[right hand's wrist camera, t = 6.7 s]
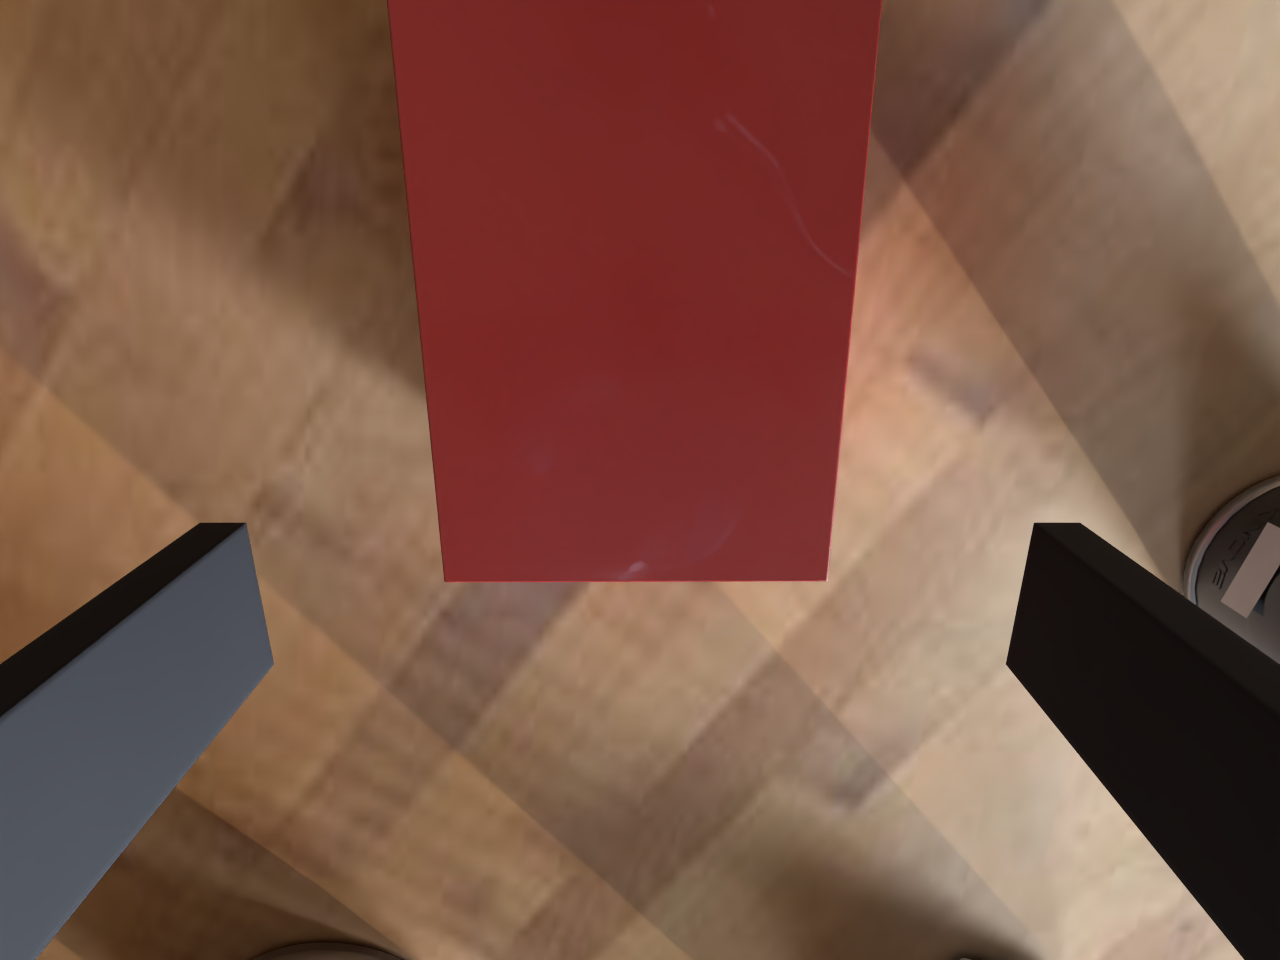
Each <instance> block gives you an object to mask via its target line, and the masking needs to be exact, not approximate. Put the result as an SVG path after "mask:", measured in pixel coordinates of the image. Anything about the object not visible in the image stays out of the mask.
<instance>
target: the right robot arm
mask: <svg viewBox="0 0 1280 960" xmlns="http://www.w3.org/2000/svg"><path fill="white" fill-rule="evenodd" d="M273 665H274V662H273V656H272V651H271V646H270V641H269V636H268V631H267V626H266V621H265V616H264V611H263V606H262V601H261V596H260V591H259V586H258V581H257V576H256V571H255V566H254V561H253V556H252V551H251V546H250V541H249V536H248V531H247V526H246V523H199V524H198V525H196V526H195V527H193V528H192V529H191V530H189V531H188V532H186V533H185V534H183V535H182V536H181V537H179V538H178V539H176V540H175V541H174V542H172V543H171V544H169V545H168V546H167V547H165V548H164V549H162V550H161V551H160V552H158V553H157V554H155V555H154V556H152V557H151V558H150V559H148V560H147V561H145V562H144V563H143V564H141V565H140V566H138V567H137V568H136V569H134V570H133V571H131V572H130V573H128V574H127V575H126V576H124V577H123V578H121V579H120V580H119V581H117V582H116V583H114V584H113V585H112V586H110V587H109V588H107V589H106V590H104V591H103V592H102V593H100V594H99V595H97V596H96V597H95V598H93V599H92V600H90V601H89V602H88V603H86V604H85V605H83V606H82V607H81V608H79V609H78V610H76V611H75V612H73V613H72V614H71V615H69V616H68V617H66V618H65V619H64V620H62V621H61V622H59V623H58V624H57V625H55V626H54V627H52V628H51V629H49V630H48V631H47V632H45V633H44V634H42V635H41V636H40V637H38V638H37V639H35V640H34V641H33V642H31V643H30V644H28V645H27V646H25V647H24V648H23V649H21V650H20V651H18V652H17V653H16V654H14V655H13V656H11V657H10V658H9V659H7V660H6V661H4V662H3V663H2V664H0V960H36V958H37V957H38V956H39V955H40V954H41V952H42V951H43V950H44V949H45V947H46V946H47V945H48V944H49V942H50V941H51V940H52V939H53V937H54V936H55V935H56V934H57V932H58V931H59V930H60V929H61V928H62V926H63V925H64V924H65V923H66V921H67V920H68V919H69V918H70V916H71V915H72V914H73V913H74V911H75V910H76V909H77V908H78V906H79V905H80V904H81V903H82V901H83V900H84V899H85V898H86V897H87V895H88V894H89V893H90V892H91V890H92V889H93V888H94V887H95V885H96V884H97V883H98V882H99V880H100V879H101V878H102V877H103V875H104V874H105V873H106V872H107V871H108V869H109V868H110V867H111V866H112V864H113V863H114V862H115V861H116V859H117V858H118V857H119V856H120V854H121V853H122V852H123V851H124V849H125V848H126V847H127V846H128V845H129V843H130V842H131V841H132V840H133V838H134V837H135V836H136V835H137V833H138V832H139V831H140V830H141V828H142V827H143V826H144V825H145V823H146V822H147V821H148V820H149V818H150V817H151V816H152V815H153V814H154V812H155V811H156V810H157V809H158V807H159V806H160V805H161V804H162V802H163V801H164V800H165V799H166V797H167V796H168V795H169V794H170V792H171V791H172V790H173V789H174V788H175V786H176V785H177V784H178V783H179V781H180V780H181V779H182V778H183V776H184V775H185V774H186V773H187V771H188V770H189V769H190V768H191V766H192V765H193V764H194V763H195V762H196V760H197V759H198V758H199V757H200V755H201V754H202V753H203V752H204V750H205V749H206V748H207V747H208V745H209V744H210V743H211V742H212V740H213V739H214V738H215V737H216V735H217V734H218V733H219V732H220V731H221V729H222V728H223V727H224V726H225V724H226V723H227V722H228V721H229V719H230V718H231V717H232V716H233V714H234V713H235V712H236V711H237V709H238V708H239V707H240V706H241V705H242V703H243V702H244V701H245V700H246V698H247V697H248V696H249V695H250V693H251V692H252V691H253V690H254V688H255V687H256V686H257V685H258V683H259V682H260V681H261V680H262V679H263V677H264V676H265V675H266V674H267V672H268V671H269V670H270V669H271V667H272V666H273ZM1006 665H1007V666H1008V667H1009V669H1010V670H1011V671H1012V672H1013V674H1014V675H1015V676H1016V677H1017V679H1018V680H1019V681H1020V682H1021V683H1022V685H1023V686H1024V687H1025V688H1026V690H1027V691H1028V692H1029V693H1030V695H1031V696H1032V697H1033V698H1034V700H1035V701H1036V702H1037V703H1038V705H1039V706H1040V707H1041V708H1042V709H1043V711H1044V712H1045V713H1046V714H1047V716H1048V717H1049V718H1050V719H1051V721H1052V722H1053V723H1054V724H1055V726H1056V727H1057V728H1058V729H1059V731H1060V732H1061V733H1062V734H1063V735H1064V737H1065V738H1066V739H1067V740H1068V742H1069V743H1070V744H1071V745H1072V747H1073V748H1074V749H1075V750H1076V752H1077V753H1078V754H1079V755H1080V757H1081V758H1082V759H1083V760H1084V762H1085V763H1086V764H1087V765H1088V766H1089V768H1090V769H1091V770H1092V771H1093V773H1094V774H1095V775H1096V776H1097V778H1098V779H1099V780H1100V781H1101V783H1102V784H1103V785H1104V786H1105V788H1106V789H1107V790H1108V791H1109V792H1110V794H1111V795H1112V796H1113V797H1114V799H1115V800H1116V801H1117V802H1118V804H1119V805H1120V806H1121V807H1122V809H1123V810H1124V811H1125V812H1126V814H1127V815H1128V816H1129V817H1130V818H1131V820H1132V821H1133V822H1134V823H1135V825H1136V826H1137V827H1138V828H1139V830H1140V831H1141V832H1142V833H1143V835H1144V836H1145V837H1146V838H1147V840H1148V841H1149V842H1150V843H1151V845H1152V846H1153V847H1154V848H1155V849H1156V851H1157V852H1158V853H1159V854H1160V856H1161V857H1162V858H1163V859H1164V861H1165V862H1166V863H1167V864H1168V866H1169V867H1170V868H1171V869H1172V871H1173V872H1174V873H1175V874H1176V875H1177V877H1178V878H1179V879H1180V880H1181V882H1182V883H1183V884H1184V885H1185V887H1186V888H1187V889H1188V890H1189V892H1190V893H1191V894H1192V895H1193V897H1194V898H1195V899H1196V900H1197V901H1198V903H1199V904H1200V905H1201V906H1202V908H1203V909H1204V910H1205V911H1206V913H1207V914H1208V915H1209V916H1210V918H1211V919H1212V920H1213V921H1214V923H1215V924H1216V925H1217V926H1218V928H1219V929H1220V930H1221V931H1222V932H1223V934H1224V935H1225V936H1226V937H1227V939H1228V940H1229V941H1230V942H1231V944H1232V945H1233V946H1234V947H1235V949H1236V950H1237V951H1238V952H1239V954H1240V955H1241V956H1242V957H1243V958H1244V960H1280V664H1278V663H1277V662H1276V661H1274V660H1273V659H1271V658H1270V657H1269V656H1267V655H1266V654H1264V653H1263V652H1262V651H1260V650H1259V649H1257V648H1256V647H1255V646H1253V645H1252V644H1250V643H1249V642H1247V641H1246V640H1245V639H1243V638H1242V637H1240V636H1239V635H1238V634H1236V633H1235V632H1233V631H1232V630H1231V629H1229V628H1228V627H1226V626H1225V625H1223V624H1222V623H1221V622H1219V621H1218V620H1216V619H1215V618H1214V617H1212V616H1211V615H1209V614H1208V613H1207V612H1205V611H1204V610H1202V609H1201V608H1199V607H1198V606H1197V605H1195V604H1194V603H1192V602H1191V601H1190V600H1188V599H1187V598H1185V597H1184V596H1183V595H1181V594H1180V593H1178V592H1177V591H1176V590H1174V589H1173V588H1171V587H1170V586H1168V585H1167V584H1166V583H1164V582H1163V581H1161V580H1160V579H1159V578H1157V577H1156V576H1154V575H1153V574H1152V573H1150V572H1149V571H1147V570H1146V569H1144V568H1143V567H1142V566H1140V565H1139V564H1137V563H1136V562H1135V561H1133V560H1132V559H1130V558H1129V557H1128V556H1126V555H1125V554H1123V553H1122V552H1121V551H1119V550H1118V549H1116V548H1115V547H1113V546H1112V545H1111V544H1109V543H1108V542H1106V541H1105V540H1104V539H1102V538H1101V537H1099V536H1098V535H1097V534H1095V533H1094V532H1092V531H1091V530H1089V529H1088V528H1087V527H1085V526H1084V525H1082V524H1081V523H1034V526H1033V531H1032V536H1031V541H1030V546H1029V551H1028V556H1027V561H1026V566H1025V571H1024V576H1023V581H1022V586H1021V591H1020V596H1019V601H1018V606H1017V611H1016V616H1015V621H1014V626H1013V631H1012V636H1011V641H1010V646H1009V651H1008V656H1007V662H1006ZM253 960H402V959H399V958H397V957H395V956H392V955H390V954H387V953H384V952H381V951H378V950H375V949H371V948H367V947H362V946H358V945H351V944H344V943H305V944H298V945H292V946H287V947H283V948H279V949H276V950H273V951H270V952H268V953H265V954H263V955H260V956H258V957H256V958H255V959H253Z"/></svg>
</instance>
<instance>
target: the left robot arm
mask: <svg viewBox="0 0 1280 960" xmlns="http://www.w3.org/2000/svg"><path fill="white" fill-rule="evenodd" d="M1183 591H1184V597H1185V598H1187V599H1188V600H1190V601H1191V602H1192V603H1194V604H1195V605H1197V606H1198V607H1199V608H1201V609H1202V610H1204V611H1205V612H1207V613H1208V614H1209V615H1211V616H1212V617H1214V618H1215V619H1216V620H1218V621H1219V622H1221V623H1222V624H1223V625H1225V626H1226V627H1228V628H1229V629H1231V630H1232V631H1233V632H1235V633H1236V634H1238V635H1239V636H1240V637H1242V638H1243V639H1245V640H1246V641H1247V642H1249V643H1250V644H1252V645H1253V646H1255V647H1256V648H1257V649H1259V650H1260V651H1262V652H1263V653H1264V654H1266V655H1267V656H1269V657H1270V658H1271V659H1273V660H1274V661H1276V662H1277V663H1278V664H1280V475H1278V476H1275V477H1272V478H1269V479H1267V480H1264V481H1262V482H1260V483H1258V484H1256V485H1254V486H1252V487H1250V488H1249V489H1247V490H1245V491H1244V492H1242V493H1241V494H1239V495H1237V496H1236V497H1235V498H1233V499H1232V500H1231V501H1230V502H1228V503H1227V504H1226V505H1225V506H1224V507H1223V508H1221V509H1220V510H1219V511H1218V512H1217V513H1216V514H1215V515H1214V516H1213V517H1212V519H1211V520H1210V521H1209V522H1208V523H1207V525H1206V526H1205V527H1204V529H1203V530H1202V531H1201V533H1200V534H1199V536H1198V538H1197V539H1196V541H1195V543H1194V545H1193V547H1192V549H1191V551H1190V554H1189V557H1188V559H1187V563H1186V567H1185V571H1184V578H1183Z"/></svg>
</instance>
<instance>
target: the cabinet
mask: <svg viewBox="0 0 1280 960" xmlns="http://www.w3.org/2000/svg"><path fill="white" fill-rule="evenodd" d="M387 6H388V16H389V26H390V36H391V46H392V56H393V66H394V76H395V86H396V96H397V107H398V117H399V127H400V137H401V147H402V157H403V167H404V177H405V187H406V198H407V208H408V218H409V228H410V238H411V248H412V258H413V268H414V278H415V288H416V299H417V309H418V319H419V329H420V339H421V349H422V359H423V369H424V379H425V390H426V400H427V410H428V420H429V430H430V440H431V450H432V460H433V470H434V481H435V491H436V501H437V511H438V521H439V531H440V541H441V551H442V561H443V571H444V581H445V582H706V581H827V579H828V568H829V557H830V547H831V536H832V526H833V515H834V505H835V494H836V484H837V473H838V462H839V452H840V441H841V431H842V420H843V410H844V399H845V389H846V378H847V367H848V357H849V346H850V336H851V325H852V315H853V304H854V293H855V283H856V272H857V262H858V251H859V241H860V230H861V220H862V209H863V198H864V188H865V177H866V167H867V156H868V146H869V135H870V125H871V114H872V103H873V93H874V82H875V72H876V61H877V51H878V40H879V30H880V19H881V8H882V0H387Z"/></svg>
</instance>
